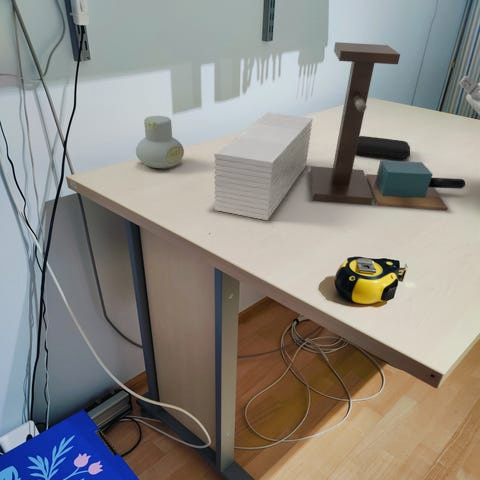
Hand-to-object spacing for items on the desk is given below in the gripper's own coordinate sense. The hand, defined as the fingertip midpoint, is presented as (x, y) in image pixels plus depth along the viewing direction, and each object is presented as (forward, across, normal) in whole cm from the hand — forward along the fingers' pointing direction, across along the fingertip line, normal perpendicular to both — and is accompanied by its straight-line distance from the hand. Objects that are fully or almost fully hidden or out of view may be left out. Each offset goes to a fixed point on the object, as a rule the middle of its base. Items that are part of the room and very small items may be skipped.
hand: (471, 84), depth 79 cm
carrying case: (-4, +25, -22) cm, 33 cm away
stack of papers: (+21, -3, -37) cm, 43 cm away
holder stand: (+8, -1, -29) cm, 30 cm away
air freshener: (+43, +5, -50) cm, 66 cm away
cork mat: (-5, -1, -22) cm, 22 cm away
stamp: (-7, -1, -20) cm, 21 cm away
